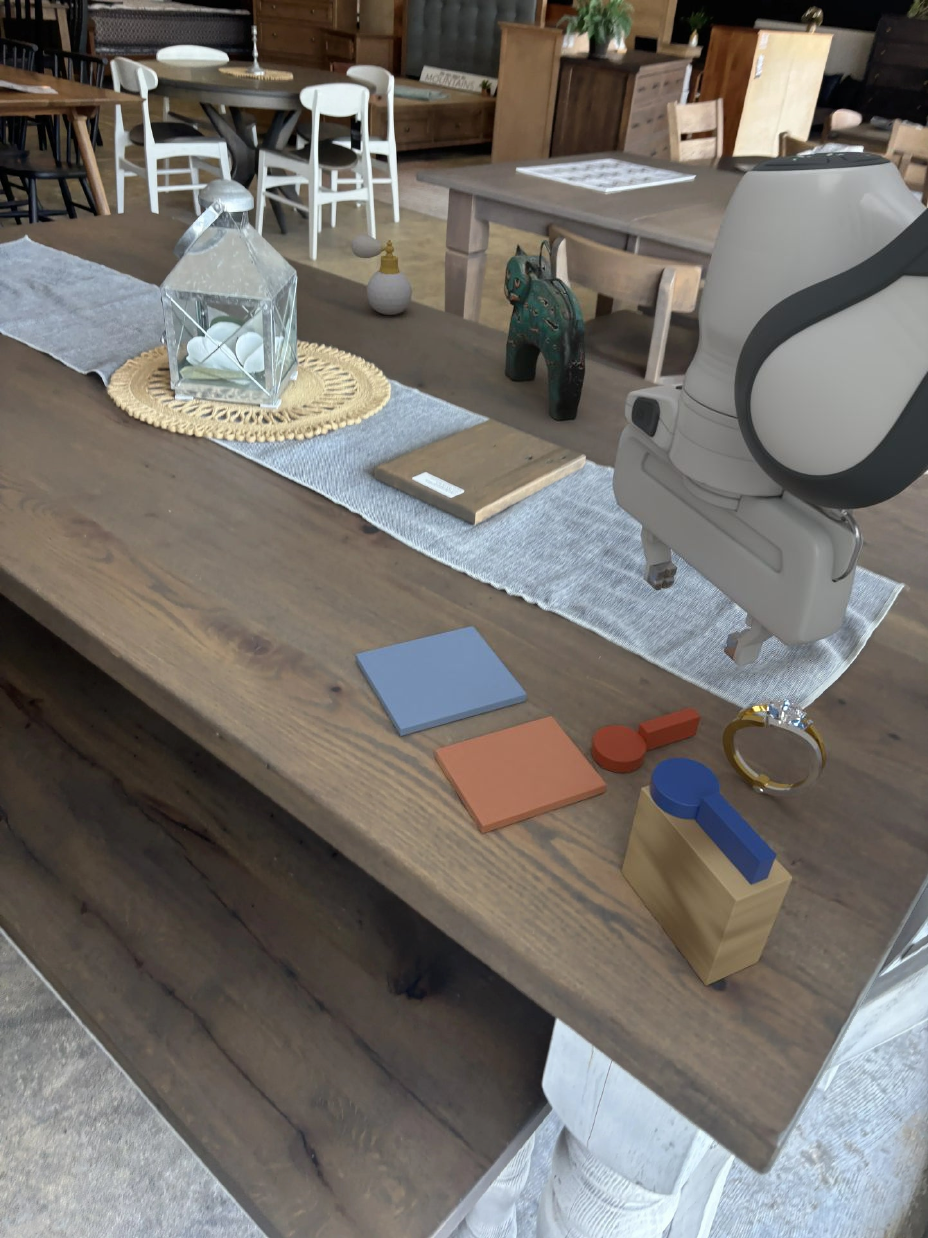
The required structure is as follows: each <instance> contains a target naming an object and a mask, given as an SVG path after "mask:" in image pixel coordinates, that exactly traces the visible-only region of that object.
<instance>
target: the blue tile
mask: <svg viewBox="0 0 928 1238" xmlns="http://www.w3.org/2000/svg"><path fill="white" fill-rule="evenodd" d="M355 662H356V664H357V666H358V667H359V669H360V670H361V673H362V674H363V676H364V678H365V679H366V681H367V682H368V684H369V686H370V688H371V689H372V691H373V693H374V694H375V695H376V697H377V700H378V701H379V703H380V705H381V707H382V708H383V709H384V711H385V713H386V714H387V716H388V717H389V720H390V721H391V723H392V724H393V726H394V727H395V729H396V731H397V733H398V734H399V736H400V737H403V736H407V735H410V734H414V733H418V732H421V731H425V730H428V729H432V728H435V727H438V726H442V725H446V724H449V723H453V722H456V721H460V720H463V719H467V718H471V717H474V716H477V715H481V714H485V713H489V712H492V711H496V710H499V709H502V708H506V707H510V706H513V705H516V704H520V703H523V702H527V697H528V693H527V692H526V691H525V690H524V688H523V687H522V686H521V684H520V683H519V682H518V680H517V679H516V678H515V677H514V675H513V674H512V673H511V672H510V671H509V669H508V668H507V667H506V666H505V664H504V663H503V662H502V660H501V659H500V658H499V657H498V655H497V654H496V652H494V651H493V649H492V648H491V647H490V645H489V644H488V643H487V642H486V640H485V639H484V638H483V636H482V635H481V634H480V633H479V632H478V630H477V629H476V628H475V626H473V625H471V626H467V627H462V628H458V629H454V630H449V631H446V632H442V633H437V634H433V635H429V636H425V637H421V638H417V639H413V640H409V641H405V642H399V643H396V644H391V645H387V646H383V647H379V648H375V649H371V650H368V651H367V650H366V651H363V652H358V653H355Z"/></svg>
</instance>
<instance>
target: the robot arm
mask: <svg viewBox="0 0 928 1238" xmlns="http://www.w3.org/2000/svg"><path fill="white" fill-rule="evenodd" d="M698 308H699V309H698V319H697V320H698V326H699V327H698V328H699V329H698V331H699V332H698V333H699V334H698V335H699V336H698V343H697V347H696V351H695V353H694V356H693V358H692V360H691V362H690V364H689V366H688V367H687V370H686V372H685V374H684V377H683V381H682V382H679V383H672V384H662V385H657V386H651V387H645V388H640V389H636V390H632V391H630V392H628V394H627V396H626V400H625V405H624V416H625V419H626V421H627V422H628V423H626V425H625V426H624V428H623V429H622V432H621V434H620V438H619V442H618V446H617V451H616V456H615V461H614V466H613V467H614V468H613V475H612V482H611V484H612V486H611V487H612V491H613V496H614V499H615V503H616V505H617V506H619V508H621V509H622V510H623V511H624V512H626V513H627V514H628V515H629V516H631V518H633V519H634V520H635V521H636V522H637V523H639V524H640V525H641V531H640V539H641V540H640V541H641V544H642V549H643V550H642V551H643V555H644V559H645V562H646V563H645V567H644V571H643V577H642V579H643V580H644V581H645V582H646V583H647V584H648V585H649V586H650V587H651V588H653V589H654V591H658V592H659V591H662V589H663V590H666V589H670V588H671V587H672V586H673V585H674V583H675V576H676V575H677V572H678V566H677V565H676V564H675V563H674V562H673V561H672V552H673V553H674V554H675V555H676V556H678V557H680V558H681V559H682V561H684V563H687V564H688V565H689V566H690V567H691V568H693V569H694V570H695V571H696V572H697V573H699V574H700V576H702V577H703V578H704V579H705V580H707V581H709V583H710V584H712V586H714V587H715V588H716V589H718V590H719V591H720V592H721V593H722V594H724V595H725V596H726V597H727V598H728V599H729V600H730V601H732V603H734V604H735V605H736V606H738V607H740V609H742V610H743V611H744V612H745V613H746V618H745V621H744V623H745V625H746V626H747V627H749V628H746V629H742V630H740V632H739V631H734V632H731V633H728V635H727V637H726V638H727V639H726V646H724V648H723V653H724V654H725V655H726V656H727V657H729V659H730V660H731V661H733V662H734V663H735V664H736V665H737V666H738V667H742V666H746V665H749V664H752V663H754V662H755V661H756V660H757V659H758V658H759V655H760V654H761V653H760V652H761V649H762V647H763V645H764V643H765V642H766V641H768V640H769V639H771V638H772V637H775V639H777V640H778V641H780V643H782V644H783V645H785V646H787V647H798V646H802V645H807V644H812V643H815V642H818V641H821V640H824V639H826V638H829V637H831V636H833V635H835V634H836V633H837V632H838V631H839V630H840V629H841V627H842V625H843V622H844V619H845V616H846V613H847V609H848V606H849V603H850V599H851V594H852V590H853V586H854V581H855V577H856V570H857V565H858V560H859V558H860V555H861V552H862V550H863V546H864V534H863V532H862V531H861V528H860V526H859V523H858V521H857V520H856V518H855V517H854V516H853V510H859V509H864V508H869V507H872V506H876V505H879V504H881V503H884V502H886V501H889V500H890V499H892V498H894V497H896V496H897V495H899V494H900V493H901V492H903V491H905V490H906V489H907V488H908V487H909V486H911V485H912V484H913V483H914V482H915V481H917V480H918V479H919V478H921V476H923V475H924V474H925V473H927V471H928V206H926V205H925V204H924V203H923V202H921V201H920V199H918V197H916V195H915V194H914V193H913V192H912V191H911V189H910V188H909V187H908V185H907V184H906V182H905V180H904V179H903V177H902V174H901V173H900V170H899V169H898V167H897V165H896V163H894V162H893V161H891V160H890V159H888V158H886V157H883V156H882V155H880V154H876V153H871V152H862V151H833V152H832V151H830V152H815V153H810V154H793V155H785V156H778V157H773V158H770V159H767V160H764V161H762V162H759V163H758V164H756V165H754V166H753V167H752V168H751V169H750V170H748V171H747V172H746V173H745V174H744V175H743V176H742V177H741V179H740V180H739V182H738V184H737V185H736V186H735V189H734V191H733V193H732V195H731V197H730V200H729V201H728V203H727V206H726V208H725V211H724V214H723V217H722V220H721V224H720V226H719V229H718V232H717V235H716V239H715V242H714V245H713V249H712V251H711V256H710V260H709V264H708V267H707V271H706V276H705V280H704V284H703V288H702V293H701V298H700V301H699V306H698Z"/></svg>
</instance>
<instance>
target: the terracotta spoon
mask: <svg viewBox="0 0 928 1238" xmlns="http://www.w3.org/2000/svg"><path fill="white" fill-rule="evenodd" d="M700 722H701V715H700V714H699V713H698V711H697V710H695V708H693V707H692V706H691V707H687V708H684V709H681V710H678V711H675V712H671V713H668V714H665V715H662V716H658V717H656V718H652V719H648V720H646V721H645V720H644V721H642V722H640V723H639V724H638V728H637V730H634V729H632V728H631V727H629V726H625V725H620V724H610V725H609V724H608V725H606V726H603V727H601V728H599V729H597V730H596V732H595V733H594V735H593V738H592V742H591V750H590V752H591V757H592V758H593V760H594V761H595V762H596V764H598V765H599V766H600V767H601V768H603V769H604V770H607V771H610V772H614V773H618V774H619V773H622V774H623V773H624V774H625V773H630V772H634V771H635V770H636V771H637V770H638V769H639V768H640V767H641V766H642V764H643V763H644V761H645V756H646V752H647V751H651V750H654V749H656V748H659V747H663V746H666V745H668V744H673V743H675V742H678V741H681V740H684V739H687V738H690V737H694V736H696V735H697V732H698V728H699V725H700Z"/></svg>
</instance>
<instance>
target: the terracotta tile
mask: <svg viewBox="0 0 928 1238" xmlns="http://www.w3.org/2000/svg"><path fill="white" fill-rule="evenodd" d="M434 758H435V761H436V762H437V763H438V765H439V767H440V768H441V770H442V771H443V773H444V775H445V776H446V778H447V780H448V781H449V782H450V785H451V786H452V787H453V789H454V791H455V792H456V795H457V796H458V797H459V799H460V801H461V802H462V804H463V805H464V807H465V808H466V811H468V813H469V815H470V817H471V818H472V820H473V821H474V823H475V824H476V826H477V828H478V830H479V831H480V833H481V834H485V833H489V832H491V831H495V830H497V829H501V828H502V827H503V828H504V827H507V826H510V825H512V824H515V823H518V822H521V821H524V820H527V819H530V818H533V817H536V816H539V815H541V814H544V813H547V812H550V811H553V810H557V809H559V808H562V807H565V806H569V805H571V804H574V803H577V802H580V801H583V800H586V799H589V798H591V797H595V796H599V795H601V794H604V793H606V791H607V783H606V782H605V780H604V779H603V778H602V777H601V775H600V774H599V773H598V772H597V770H596V769H595V768H594V766H592V764H591V763H590V762H589V760H588V759H587V758H586V757H585V755H584V754H583V753H582V752H581V751H580V749H579V748H578V747H577V745H576V744H575V743H574V742H573V741H572V739H571V738H570V737H569V736H568V734H567V733H566V732H565V730H564V729H563V728H562V727H561V726H560V724H559V723H558V722H557V721H556V719H555V718H554V717H553V716H552V715H549V716H546V717H542V718H539V719H535V720H532V721H528V722H524V723H521V724H518V725H515V726H511V727H508V728H505V729H504V728H503V729H501V730H498V731H494V732H491V733H487V734H484V735H481V736H477V737H474V738H471V739H467V740H463V741H461V742H457V743H454V744H449V745H446V746H443V747H439V748H435V749H434Z"/></svg>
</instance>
